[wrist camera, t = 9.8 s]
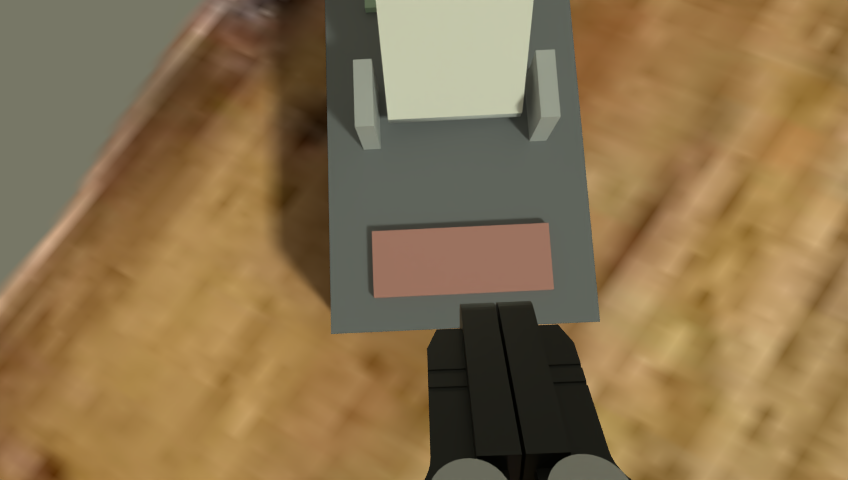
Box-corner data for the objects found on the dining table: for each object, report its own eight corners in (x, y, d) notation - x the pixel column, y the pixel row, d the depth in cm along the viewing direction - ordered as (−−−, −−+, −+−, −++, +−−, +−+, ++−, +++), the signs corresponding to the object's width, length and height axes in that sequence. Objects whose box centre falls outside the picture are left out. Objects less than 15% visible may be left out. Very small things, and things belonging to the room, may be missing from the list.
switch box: (343, 1, 34) (310, -115, 25) (539, -9, 34) (576, -129, 25) (351, 332, 31) (317, 334, 22) (567, 322, 31) (622, 320, 22)
